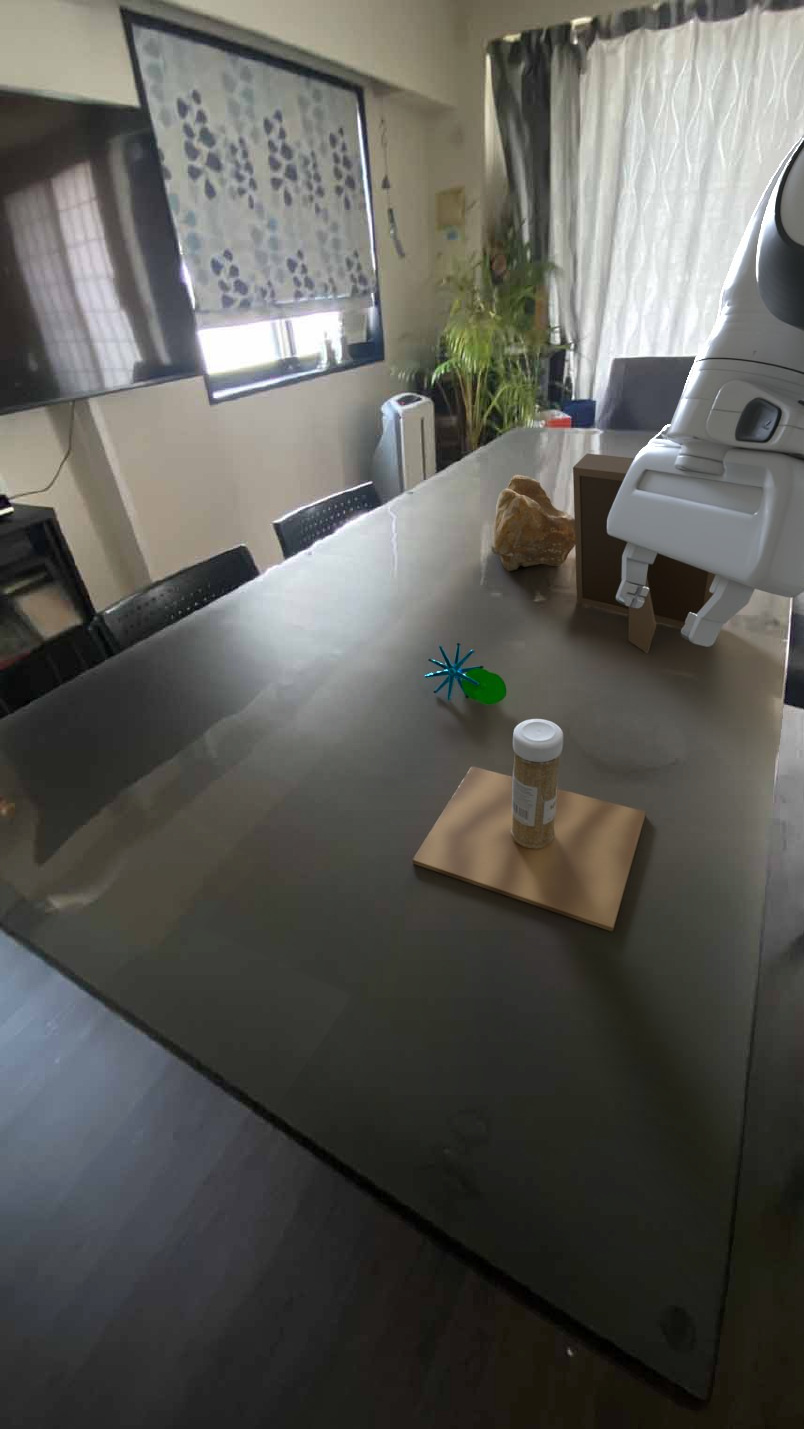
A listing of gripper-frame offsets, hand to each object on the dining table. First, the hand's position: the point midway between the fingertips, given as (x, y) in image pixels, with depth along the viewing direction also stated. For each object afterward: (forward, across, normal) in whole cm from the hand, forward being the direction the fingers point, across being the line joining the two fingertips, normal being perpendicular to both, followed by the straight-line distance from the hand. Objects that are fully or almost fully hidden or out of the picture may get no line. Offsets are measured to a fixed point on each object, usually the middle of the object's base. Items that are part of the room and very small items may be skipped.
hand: (658, 622), depth 48 cm
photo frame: (+10, -49, +30) cm, 58 cm away
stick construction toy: (+22, -38, +3) cm, 44 cm away
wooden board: (+26, -9, +3) cm, 28 cm away
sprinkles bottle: (+26, -9, +3) cm, 28 cm away
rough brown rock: (+7, -80, +24) cm, 84 cm away
